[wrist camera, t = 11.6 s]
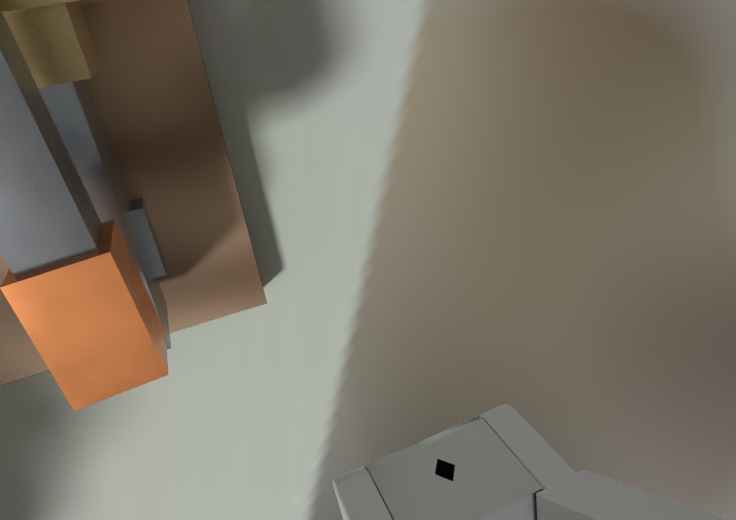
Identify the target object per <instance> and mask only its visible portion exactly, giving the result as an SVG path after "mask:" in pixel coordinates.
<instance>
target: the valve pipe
mask: <svg viewBox="0 0 736 520" xmlns="http://www.w3.org/2000/svg"><path fill="white" fill-rule="evenodd" d="M100 2H105V0H0V9H1V11H2V13H3V15H4V17H5V19H6V21H7V23H8V25H9V28H10V30H11V32H12V34H13V36H14V38H15V40H16V42H17V45H18V47H19V49H20V51H21V53H22V55H23V57H24V59H25V62H26V64H27V66H28V68H29V70H30V72H31V74H32V76H33V79H34V81H35V83H36V85H37V87H38V89H39V91H40V93H41V96H42V98H43V100H44V102H45V104H46V106H47V108H48V110H49V113H50V115H51V117H52V119H53V121H54V123H55V125H56V127H57V129H58V132H59V134H60V136H61V138H62V140H63V142H64V144H65V146H66V149H67V151H68V153H69V155H70V157H71V159H72V161H73V163H74V166H75V168H76V170H77V172H78V174H79V176H80V178H81V180H82V183H83V185H84V187H85V189H86V191H87V193H88V195H89V197H90V200H91V202H92V204H93V206H94V208H95V210H96V212H97V214H98V217H99V219H100V221H101V223H103V222H106V221H110V220H113V219H114V220H115V222H116V225H117V227H118V229H119V231H120V233H121V235H122V238H123V240H124V242H125V244H126V246H127V249H128V251H129V253H130V255H131V257H132V260H133V262H134V264H135V266H136V268H137V270H138V273H139V275H140V277H141V279H142V281H143V284H144V286H145V288H146V290H147V292H148V294H149V297H150V299H151V301H152V303H153V305H154V308H155V310H156V312H157V314H158V316H159V318H160V321H161V323H162V325H163V327H164V329H165V338H166V350H167V349H170V348H171V342H170V332H169V321H168V311H167V304H166V301H165V298H164V296H163V293H162V290H161V287H160V284H159V282H158V279H157V277H161V276H164V275H166V269H165V261H164V258H163V255H162V252H161V249H160V246H159V243H158V240H157V238H156V235H155V232H154V229H153V226H152V223H151V220H150V217H149V215H148V212H147V209H146V206H145V203H144V200H143V197H142V198H138V199H134V200H130V201H129V198H128V195H127V193H126V190H125V187H124V184H123V181H122V179H121V176H120V173H119V170H118V167H117V165H116V162H115V159H114V156H113V154H112V151H111V148H110V145H109V142H108V140H107V137H106V134H105V131H104V128H103V126H102V123H101V120H100V117H99V115H98V112H97V109H96V106H95V103H94V101H93V98H92V95H91V92H90V90H89V87H88V84H87V81H86V79H90V78H92V77H93V75H94V74H95V73H96V71H97V70H98V68H99V67H100V66H101V63H100V60H99V57H98V54H97V51H96V48H95V46H94V43H93V40H92V37H91V34H90V31H89V28H88V25H87V22H86V19H85V16H84V13H83V11H82V8H81V5H87V4H93V3H100Z"/></svg>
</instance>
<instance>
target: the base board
mask: <svg viewBox="0 0 736 520" xmlns="http://www.w3.org/2000/svg"><path fill="white" fill-rule="evenodd" d="M81 8H82V11H83V13H84V16H85V19H86V22H87V25H88V28H89V31H90V34H91V37H92V40H93V43H94V46H95V48H96V51H97V54H98V57H99V60H100V63H101V66H100V67H99V68H98V70H97V71H96V73H95V74H94V75H93V77H92V78H90V79H86V81H87V84H88V87H89V90H90V92H91V95H92V98H93V101H94V103H95V106H96V109H97V112H98V115H99V117H100V120H101V123H102V126H103V128H104V131H105V134H106V137H107V140H108V142H109V145H110V148H111V151H112V154H113V156H114V159H115V162H116V165H117V167H118V170H119V173H120V176H121V179H122V181H123V184H124V187H125V190H126V193H127V195H128V198H129V201H130V200H134V199H138V198H142V197H143V200H144V203H145V206H146V209H147V212H148V215H149V217H150V220H151V223H152V226H153V229H154V232H155V235H156V238H157V240H158V243H159V246H160V249H161V252H162V255H163V258H164V261H165V269H166V275H164V276H161V277H157V279H158V282H159V284H160V287H161V290H162V293H163V296H164V298H165V301H166V304H167V311H168V321H169V332H170V333H172V332H175V331H178V330H181V329H185V328H188V327H191V326H194V325H198V324H201V323H204V322H207V321H211V320H214V319H217V318H220V317H224V316H227V315H230V314H233V313H237V312H240V311H243V310H246V309H250V308H253V307H256V306H259V305H262V304H266V303H267V301H266V297H265V294H264V290H263V286H262V282H261V279H260V275H259V271H258V267H257V263H256V260H255V256H254V252H253V248H252V245H251V241H250V237H249V233H248V229H247V226H246V222H245V218H244V214H243V211H242V207H241V203H240V199H239V195H238V192H237V188H236V184H235V180H234V177H233V173H232V169H231V165H230V161H229V158H228V154H227V150H226V146H225V143H224V139H223V135H222V131H221V128H220V124H219V120H218V116H217V112H216V109H215V105H214V101H213V97H212V94H211V90H210V86H209V82H208V78H207V75H206V71H205V67H204V63H203V60H202V56H201V52H200V48H199V44H198V41H197V37H196V33H195V29H194V26H193V22H192V18H191V14H190V10H189V7H188V3H187V0H105V2H100V3H93V4H87V5H81ZM9 269H10V268H9V266H8V265H7V263H6V261H5V259H4V258H3V256H2V254H1V253H0V287H1V285H2V283H3V281H4V279H5V277H6V275H7V273H8V271H9ZM48 370H49V369H48V367H47V365H46V364H45V362H44V360H43V359H42V357H41V355H40V354H39V352H38V350H37V349H36V347H35V345H34V344H33V342H32V340H31V339H30V337H29V335H28V334H27V332H26V330H25V329H24V327H23V325H22V324H21V322H20V320H19V319H18V317H17V315H16V314H15V312H14V310H13V309H12V307H11V305H10V304H9V302H8V300H7V299H6V297H5V295H4V294H3V292H2V290H1V289H0V385H3V384H6V383H9V382H12V381H16V380H19V379H22V378H25V377H29V376H32V375H35V374H38V373H42V372H45V371H48Z"/></svg>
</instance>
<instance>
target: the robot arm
mask: <svg viewBox="0 0 736 520" xmlns="http://www.w3.org/2000/svg"><path fill="white" fill-rule="evenodd" d="M333 485H334V488H335V492H336V495H337V499H338V502H339V506H340V509H341V512H342V516H343V519H344V520H725V519H722V518H720V517H717V516H714V515H711V514H708V513H705V512H702V511H699V510H697V509H694V508H691V507H688V506H686V505H682V504H680V503H677V502H674V501H671V500H668V499H665V498H663V497H660V496H657V495H654V494H651V493H649V492H646V491H643V490H640V489H637V488H635V487H632V486H629V485H626V484H623V483H620V482H618V481H615V480H612V479H609V478H606V477H604V476H601V475H598V474H595V473H592V472H589V471H587V470H583V471H581V472H579V473H575V472H574V471H573V470H572V469H571V468H570V467H569V466H568V465H567V464H566V462H565V461H564V460H563V459H562V458H561V457H560V456H559V455H558V454H557V453H556V452H555V451H554V450H553V449H552V448H551V447H550V446H549V445H548V444H547V443H546V442H545V441H544V440H543V439H542V438H541V437H540V435H539V434H538V433H537V432H536V431H535V430H534V429H533V428H532V427H531V426H530V425H529V424H528V423H527V422H526V421H525V420H524V419H523V418H522V417H521V416H520V415H519V414H518V413H517V412H516V411H515V409H513V407H512V406H509V405H507V404H504V405H502V406H499V407H497V408H495V409H492V410H490V411H488V412H486V413H483V414H481V415H479V416H478V417H473V418H471V419H469V420H467V421H465V422H462V423H460V424H458V425H456V426H454V427H452V428H449V429H447V430H445V431H443V432H441V433H438V434H436V435H434V436H432V437H430V438H427V439H425V440H423V441H422V442H421V443H418V444H416V445H413V446H411V447H408V448H406V449H404V450H401V451H399V452H396V453H394V454H392V455H389V456H386V457H384V458H382V459H379V460H377V461H374V462H372V463H369V464H367V465H365V467H361V468H359V469H356V470H354V471H351V472H349V473H346V474H344V475H342V476H339V477H337V478H334V479H333Z"/></svg>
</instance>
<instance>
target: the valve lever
mask: <svg viewBox="0 0 736 520" xmlns="http://www.w3.org/2000/svg"><path fill="white" fill-rule="evenodd" d="M0 253H1V254H2V256H3V258H4V259H5V261H6V263H7V265H8V266H9V268H10V269H9V271H8V273H7V275H6V277H5V279H4V281H3V283H2V285H1V287H0V289H1V290H2V292H3V294H4V295H5V297H6V299H7V300H8V302H9V304H10V305H11V307H12V309H13V310H14V312H15V314H16V315H17V317H18V319H19V320H20V322H21V324H22V325H23V327H24V329H25V330H26V332H27V334H28V335H29V337H30V339H31V340H32V342H33V344H34V345H35V347H36V349H37V350H38V352H39V354H40V355H41V357H42V359H43V360H44V362H45V364H46V365H47V367H48V369H49V370H50V372H51V374H52V375H53V377H54V379H55V380H56V382H57V384H58V385H59V387H60V389H61V390H62V392H63V394H64V395H65V397H66V399H67V400H68V402H69V404H70V405H71V407H72V409H73V410H74V411H75V410H77V409H80V408H82V407H85V406H88V405H90V404H93V403H95V402H98V401H101V400H103V399H106V398H109V397H111V396H114V395H116V394H119V393H122V392H124V391H127V390H129V389H132V388H135V387H137V386H140V385H143V384H145V383H148V382H150V381H153V380H156V379H158V378H161V377H164V376H166V375H168V363H167V351H166V338H165V329H164V327H163V325H162V323H161V321H160V318H159V316H158V314H157V312H156V310H155V308H154V305H153V303H152V301H151V299H150V297H149V294H148V292H147V290H146V288H145V286H144V284H143V281H142V279H141V277H140V275H139V273H138V270H137V268H136V266H135V264H134V262H133V260H132V257H131V255H130V253H129V251H128V249H127V246H126V244H125V242H124V240H123V238H122V235H121V233H120V231H119V229H118V227H117V225H116V222H115V220H114V219H113V220H110V221H106V222H103V223H101V221H100V219H99V217H98V214H97V212H96V210H95V208H94V206H93V204H92V202H91V200H90V197H89V195H88V193H87V191H86V189H85V187H84V185H83V183H82V180H81V178H80V176H79V174H78V172H77V170H76V168H75V166H74V163H73V161H72V159H71V157H70V155H69V153H68V151H67V149H66V146H65V144H64V142H63V140H62V138H61V136H60V134H59V132H58V129H57V127H56V125H55V123H54V121H53V119H52V117H51V115H50V113H49V110H48V108H47V106H46V104H45V102H44V100H43V98H42V96H41V93H40V91H39V89H38V87H37V85H36V83H35V81H34V79H33V76H32V74H31V72H30V70H29V68H28V66H27V64H26V62H25V59H24V57H23V55H22V53H21V51H20V49H19V47H18V45H17V42H16V40H15V38H14V36H13V34H12V32H11V30H10V28H9V25H8V23H7V21H6V19H5V17H4V15H3V13H2V11H1V9H0Z"/></svg>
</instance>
